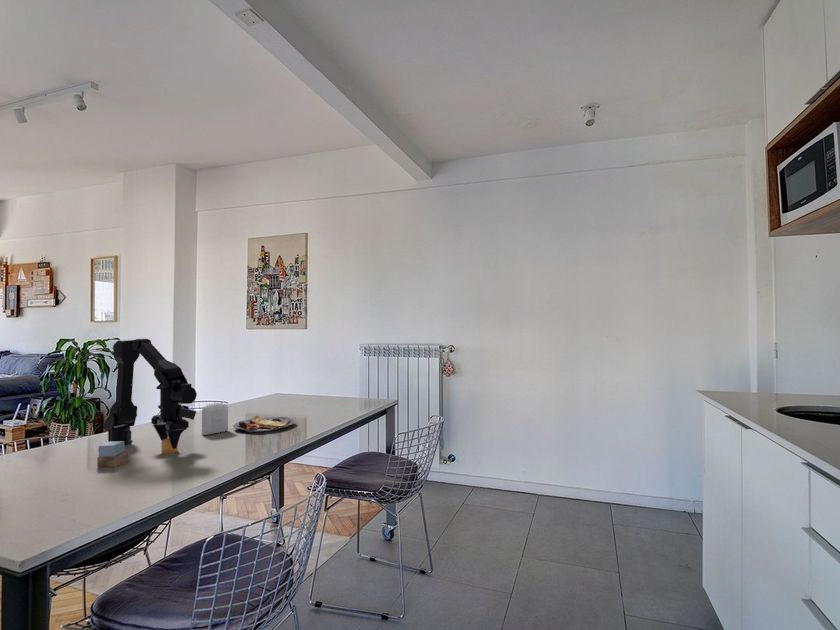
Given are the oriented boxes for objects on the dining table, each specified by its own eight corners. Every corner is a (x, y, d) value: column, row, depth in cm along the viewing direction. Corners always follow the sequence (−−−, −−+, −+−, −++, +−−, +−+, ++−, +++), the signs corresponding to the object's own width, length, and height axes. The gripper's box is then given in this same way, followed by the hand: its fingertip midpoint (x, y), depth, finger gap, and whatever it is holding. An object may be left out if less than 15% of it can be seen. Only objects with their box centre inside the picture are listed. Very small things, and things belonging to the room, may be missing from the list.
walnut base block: (97, 468, 139) (97, 457, 139) (109, 462, 145) (109, 451, 145) (116, 467, 139) (116, 456, 139) (128, 461, 145) (128, 451, 145)
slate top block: (98, 456, 139) (98, 445, 139) (108, 452, 144) (108, 441, 144) (115, 456, 140) (115, 445, 140) (124, 451, 145) (124, 441, 145)
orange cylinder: (158, 454, 152) (158, 441, 152) (166, 450, 157) (166, 438, 157) (173, 454, 152) (173, 441, 152) (180, 450, 157) (180, 437, 157)
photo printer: (225, 429, 187) (225, 400, 187) (229, 431, 184) (229, 402, 184) (200, 434, 180) (200, 404, 180) (203, 436, 177) (203, 405, 177)
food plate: (221, 431, 184) (222, 422, 185) (259, 420, 206) (260, 412, 206) (270, 437, 176) (270, 428, 176) (304, 425, 198) (304, 417, 198)
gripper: (204, 401, 155) (204, 445, 155) (183, 396, 167) (183, 437, 167) (169, 406, 147) (169, 453, 146) (150, 400, 159) (150, 443, 159)
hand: (169, 446), depth 155 cm, fingers open, 9 cm apart
